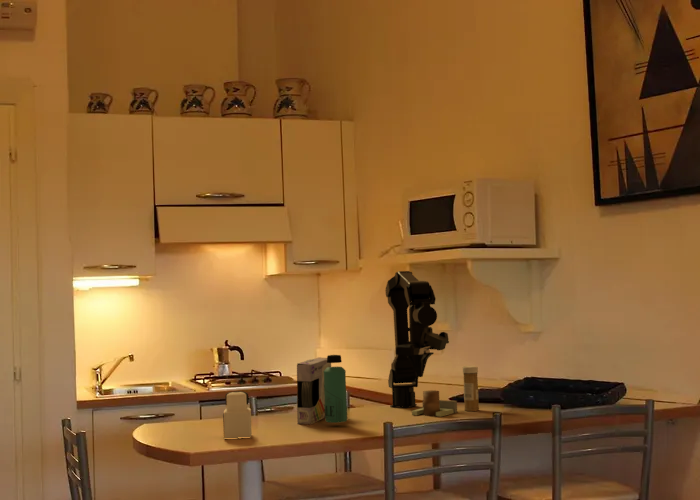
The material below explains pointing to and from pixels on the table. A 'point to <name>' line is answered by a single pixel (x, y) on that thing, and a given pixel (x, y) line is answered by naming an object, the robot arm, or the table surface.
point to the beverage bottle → (335, 391)
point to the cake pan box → (311, 390)
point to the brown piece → (431, 402)
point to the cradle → (439, 414)
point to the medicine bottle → (237, 415)
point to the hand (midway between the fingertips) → (420, 376)
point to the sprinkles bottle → (471, 388)
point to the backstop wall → (448, 405)
